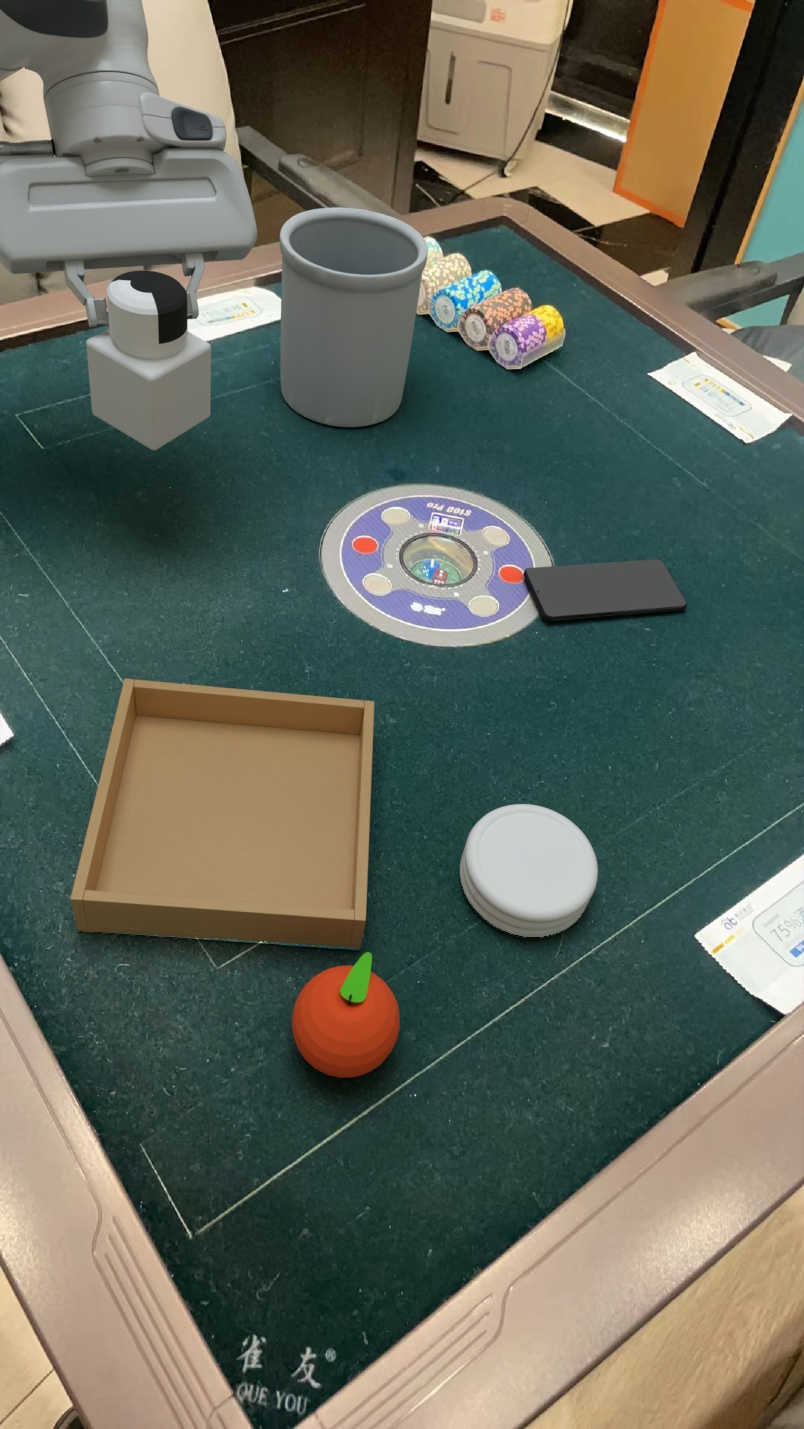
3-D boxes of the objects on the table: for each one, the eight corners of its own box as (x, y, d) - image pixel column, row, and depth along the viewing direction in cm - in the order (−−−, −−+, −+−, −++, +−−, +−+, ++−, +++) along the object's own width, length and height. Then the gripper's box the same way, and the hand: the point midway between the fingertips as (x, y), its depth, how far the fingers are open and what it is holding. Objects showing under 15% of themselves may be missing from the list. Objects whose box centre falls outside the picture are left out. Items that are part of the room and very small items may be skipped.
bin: (77, 931, 72) (69, 899, 69) (128, 714, 85) (124, 678, 82) (359, 951, 74) (366, 920, 71) (368, 736, 87) (374, 700, 83)
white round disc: (608, 926, 78) (621, 902, 75) (483, 953, 75) (492, 929, 73) (558, 816, 84) (569, 791, 81) (441, 838, 81) (448, 812, 79)
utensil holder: (272, 352, 121) (277, 199, 108) (399, 358, 124) (419, 210, 111) (276, 428, 112) (282, 271, 99) (413, 434, 115) (437, 281, 101)
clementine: (315, 966, 73) (322, 916, 68) (410, 999, 72) (425, 951, 67) (273, 1073, 68) (277, 1028, 62) (375, 1109, 67) (387, 1067, 62)
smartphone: (690, 605, 101) (545, 617, 97) (686, 612, 102) (543, 624, 98) (662, 557, 105) (522, 567, 101) (659, 564, 106) (520, 573, 102)
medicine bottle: (150, 381, 92) (144, 250, 83) (212, 417, 91) (213, 287, 81) (90, 415, 88) (78, 280, 79) (154, 453, 86) (149, 320, 77)
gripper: (-33, 123, 76) (9, 320, 78) (243, 118, 82) (275, 300, 84) (-29, 160, 82) (9, 342, 83) (228, 152, 88) (258, 321, 90)
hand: (145, 321), depth 84 cm, fingers closed on medicine bottle, 6 cm apart
